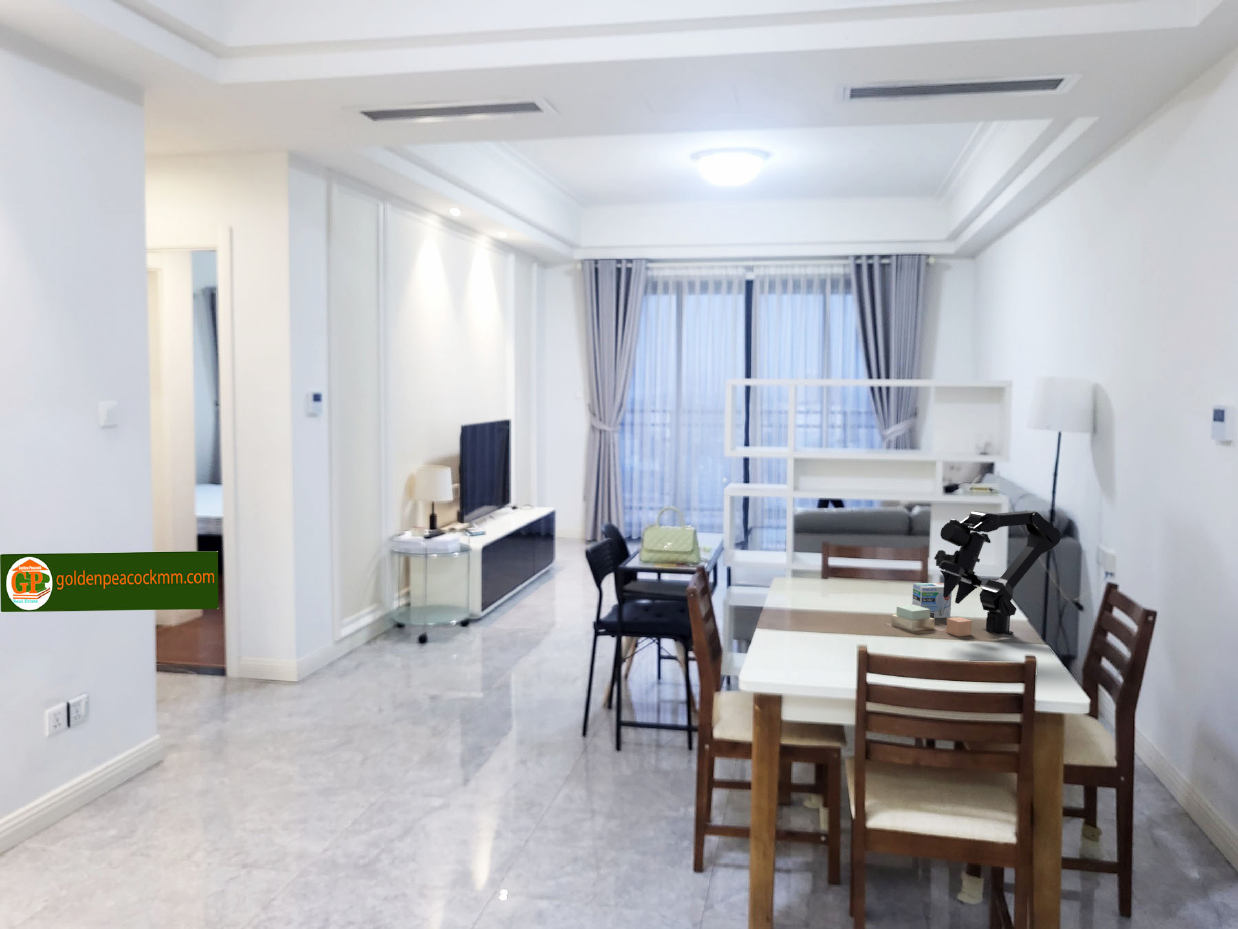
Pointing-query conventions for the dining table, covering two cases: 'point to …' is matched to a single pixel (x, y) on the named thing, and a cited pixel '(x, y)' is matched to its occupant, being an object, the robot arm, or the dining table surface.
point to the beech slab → (912, 623)
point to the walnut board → (937, 628)
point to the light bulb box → (932, 599)
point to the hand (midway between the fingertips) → (950, 600)
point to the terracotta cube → (958, 626)
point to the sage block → (913, 612)
